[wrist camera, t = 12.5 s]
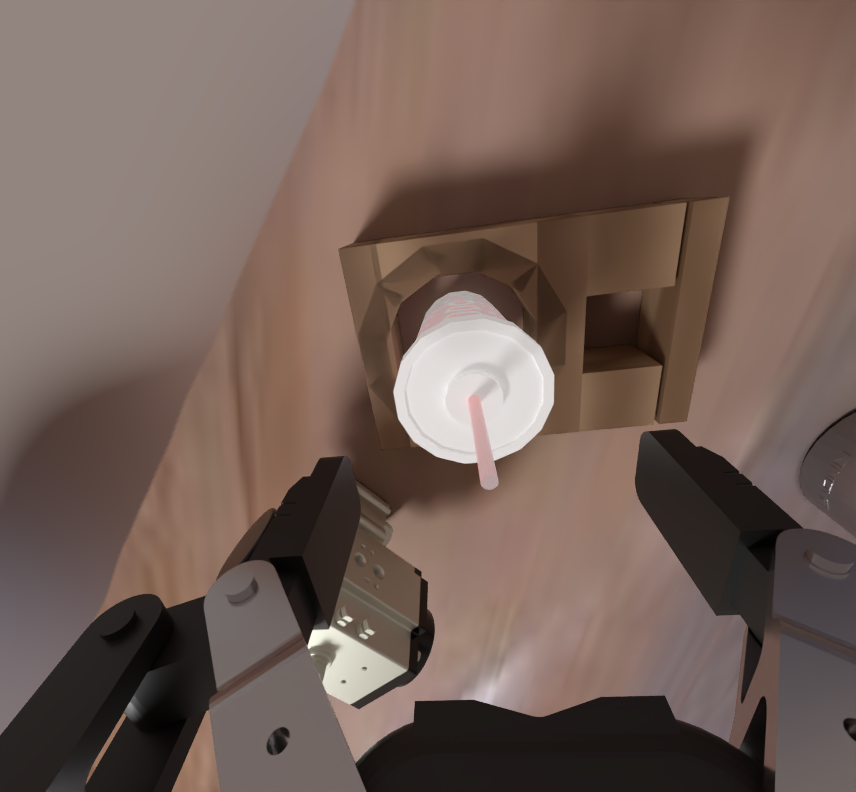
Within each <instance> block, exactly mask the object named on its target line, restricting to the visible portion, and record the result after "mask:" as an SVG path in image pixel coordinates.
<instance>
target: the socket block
mask: <svg viewBox="0 0 856 792" xmlns="http://www.w3.org/2000/svg"><path fill="white" fill-rule="evenodd" d="M729 198H730V197H710V198H684V199H676V200H668V201H661V202H653V203H646V204H639V205H631V206H624V207H616V208H609V209H601V210H594V211H587V212H579V213H572V214H564V215H557V216H550V217H542V218H535V219H527V220H520V221H512V222H505V223H498V224H490V225H483V226H475V227H468V228H461V229H453V230H446V231H438V232H431V233H423V234H416V235H409V236H401V237H394V238H386V239H379V240H372V241H364V242H357V243H352V244H350V245H347V246H345V247H342V248H340V249H338V250H339V255H340V260H341V264H342V269H343V274H344V278H345V283H346V288H347V293H348V297H349V302H350V307H351V311H352V316H353V321H354V325H355V330H356V335H357V340H358V344H359V349H360V354H361V358H362V363H363V368H364V372H365V377H366V382H367V387H368V391H369V396H370V401H371V405H372V410H373V415H374V419H375V424H376V429H377V434H378V438H379V443H380V448H381V450H388V449H399V448H409V447H420V446H419V445H418V444H416V443H415V442H414V441H413V440H412V438H411V437H410V436H409V434H408V433H407V431H406V430H405V428H404V427H403V425H402V424H401V422H400V421H399V419H398V415H397V410H396V404H395V399H394V393H393V391H394V387H395V383H396V379H397V375H398V371H399V368H400V364H401V360H402V359H403V356H404V352H403V345H402V339H401V333H400V327H399V321H398V314H397V312H398V309H399V306H400V304H401V303H402V302H403V301H404V300H405V299H407V298H408V297H409V296H411V295H412V294H413V293H414V292H416V291H417V290H418V289H420V288H421V287H422V286H423V285H425V284H426V283H427V282H429V281H430V280H431V279H432V278H434V277H439V276H447V275H455V274H463V273H471V272H479V273H481V274H484V275H486V276H488V277H490V278H493V279H495V280H497V281H499V282H501V283H504V284H506V285H508V286H510V287H511V288H512V290H513V292H514V293H515V295H516V296H517V298H518V299H519V301H520V302H521V304H522V305H523V331H524V332H525V333H526V334H527V335H529V336H530V337H531V338H532V339H534V340H535V341H536V343H538V344H539V345H540V346H541V348H542V350H543V352H544V354H545V356H546V358H547V360H548V362H549V365H550V367H551V369H552V371H553V373H554V404H553V406H552V409H551V411H550V413H549V415H548V417H547V419H546V421H545V423H544V425H543V428H542V430H541V431H540V432H539V433H537V434H536V435H535V436H537V435H547V434H558V433H568V432H579V431H590V430H600V429H611V428H621V427H632V426H643V425H653V424H654V419H655V420H656V421H657V422H658V423H659V424H664V423H674V422H685V421H687V417H688V412H689V407H690V401H691V396H692V391H693V386H694V381H695V375H696V370H697V365H698V360H699V355H700V349H701V344H702V339H703V334H704V329H705V323H706V318H707V313H708V308H709V302H710V297H711V292H712V287H713V282H714V276H715V271H716V266H717V261H718V256H719V250H720V245H721V240H722V235H723V230H724V224H725V219H726V214H727V209H728V204H729ZM636 290H643V291H642V300H641V309H640V317H639V326H638V335H637V343H636V347H635V346H634V345H632V344H625V345H616V346H607V347H598V348H588V349H584V335H585V317H586V298H587V296H594V295H602V294H610V293H619V292H627V291H636Z"/></svg>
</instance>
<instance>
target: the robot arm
mask: <svg viewBox="0 0 856 792" xmlns="http://www.w3.org/2000/svg"><path fill="white" fill-rule="evenodd" d="M635 486H636V492H637V495H638V498H639V500H640V502H641V504H642V505H643V507H644V508H645V510H646V511H647V513H648V514H649V516H650V517H651V519H652V520H653V522H654V523H655V525H656V526H657V528H658V529H659V531H660V532H661V534H662V535H663V537H664V538H665V540H666V541H667V543H668V544H669V546H670V547H671V549H672V550H673V552H674V553H675V555H676V556H677V558H678V559H679V561H680V562H681V564H682V565H683V567H684V568H685V570H686V571H687V573H688V574H689V576H690V577H691V578H692V580H693V581H694V583H695V584H696V586H697V587H698V589H699V590H700V592H701V593H702V595H703V596H704V598H705V599H706V601H707V602H708V604H709V605H710V607H711V608H712V610H713V611H714V613H715V614H716V616H718V615H741V617H742V618H743V620H744V621H745V622H746V624H747V626H746V629H745V632H744V636H743V645H742V654H741V663H740V672H739V680H738V689H737V698H736V707H735V715H734V721H733V726H732V730H731V734H730V738H729V742H726V741H725V740H723V739H721V738H719V737H717V736H715V735H713V734H711V733H709V732H707V731H705V730H703V729H701V728H699V727H696V726H694V725H691V724H689V723H686V722H683V721H680V720H676V719H675V717H674V715H673V713H672V711H671V708H670V706H669V704H668V702H667V699H666V697H665V696H628V697H600V698H597V699H594V700H591V701H588V702H585V703H582V704H580V705H577V706H574V707H571V708H568V709H565V710H562V711H559V712H557V713H554V714H551V715H548V716H545V717H534V716H530V715H526V714H522V713H519V712H515V711H512V710H508V709H505V708H501V707H497V706H494V705H490V704H487V703H483V702H479V701H476V700H447V701H415V709H414V722H413V723H410V724H407V725H405V726H403V727H401V728H399V729H397V730H395V731H393V732H391V733H390V734H388V735H387V736H385V737H384V738H382V739H381V740H380V741H378V742H377V743H376V744H375V745H373V746H372V747H371V748H370V749H369V750H368V751H367V752H366V753H364V755H363V756H362V757H361V758H360V759H359V760H358V761H357V762H356V763H355V761H354V758H353V756H352V754H351V751H350V749H349V746H348V744H347V741H346V739H345V737H344V734H343V732H342V729H341V727H340V724H339V722H338V720H337V717H336V715H335V712H334V710H333V707H332V705H331V702H330V700H329V698H328V695H327V693H326V690H325V688H324V685H323V683H322V681H321V678H320V676H319V673H318V671H317V668H316V666H315V663H314V661H313V659H312V656H311V654H310V651H309V649H308V643H309V640H310V637H311V633H312V630H327V629H329V628H330V625H331V621H332V618H333V614H334V611H335V607H336V603H337V600H338V596H339V593H340V589H341V586H342V582H343V578H344V575H345V571H346V568H347V564H348V561H349V557H350V554H351V550H352V546H353V543H354V539H355V536H356V532H357V529H358V525H359V521H360V516H361V503H360V497H359V493H358V489H357V485H356V481H355V477H354V474H353V470H352V466H351V462H350V459H349V458H348V456H337V457H325V458H320V459H319V461H318V462H317V464H316V466H315V468H314V470H313V472H312V474H311V476H308V477H302V478H301V479H300V480H299V481H298V482H297V483H296V484H295V485H293V486H292V487H291V488H290V489H289V490H288V492H287V494H286V496H285V497H284V499H283V501H282V503H281V506H279V508H278V510H277V512H276V513H275V518H273V519H272V520H271V522H270V524H269V526H268V527H267V529H266V531H265V533H264V535H263V536H262V538H261V540H260V542H259V543H258V545H257V547H256V549H255V550H254V552H253V554H252V556H251V557H250V559H249V561H248V562H245V563H242V564H240V565H238V566H235V567H234V568H232V569H230V570H229V571H227V572H226V573H224V574H223V575H222V576H221V577H220V578H218V579H217V581H216V582H215V583H214V584H213V585H212V586H211V588H210V589H209V591H208V593H207V595H206V596H203V597H200V598H197V599H194V600H191V601H188V602H185V603H182V604H179V605H176V606H173V607H170V608H167V609H166V608H165V606H164V604H163V603H162V601H161V600H160V598H159V597H158V596H156V595H153V594H142V595H137V596H134V597H131V598H128V599H126V600H124V601H122V602H120V603H118V604H116V605H114V606H113V607H111V608H110V609H108V610H107V611H105V612H104V613H103V614H101V615H100V616H99V617H98V618H97V619H96V620H95V621H94V622H92V623H91V624H90V626H89V627H88V628H87V629H86V630H85V631H84V633H83V634H82V635H81V636H80V638H79V639H78V640H77V641H76V643H75V644H74V645H73V646H72V647H71V649H70V650H69V651H68V652H67V654H66V655H65V656H64V657H63V659H62V660H61V661H60V662H59V664H58V665H57V666H56V667H55V668H54V670H53V671H52V672H51V673H50V675H49V676H48V677H47V678H46V680H45V681H44V682H43V683H42V685H41V686H40V687H39V688H38V690H37V691H36V692H35V693H34V695H33V696H32V697H31V698H30V699H29V701H28V702H27V703H26V704H25V706H24V707H23V708H22V709H21V711H20V712H19V713H18V714H17V715H16V717H15V718H14V719H13V721H12V722H11V723H10V724H9V725H8V727H7V728H6V729H5V730H4V732H3V733H2V734H1V735H0V792H171V791H172V789H173V786H174V784H175V782H176V780H177V777H178V775H179V773H180V770H181V768H182V766H183V763H184V761H185V759H186V756H187V754H188V752H189V749H190V747H191V745H192V743H193V740H194V738H195V736H196V733H197V731H198V729H199V726H200V724H201V722H202V719H203V717H204V715H205V713H206V711H207V710H209V712H210V720H211V727H212V734H213V742H214V749H215V756H216V763H217V771H218V778H219V785H220V792H856V545H855V544H853V543H851V542H849V541H847V540H845V539H843V538H840V537H838V536H835V535H832V534H829V533H826V532H822V531H818V530H812V529H804V528H802V527H801V526H800V525H799V524H798V523H797V522H796V521H795V520H793V519H792V518H791V517H790V516H789V515H788V514H787V513H786V512H784V511H783V510H782V509H781V508H780V507H779V506H778V505H776V504H775V503H774V502H773V501H772V500H771V499H770V498H769V497H767V496H766V495H765V494H764V493H763V492H762V491H761V490H760V489H758V488H757V487H756V486H753V485H752V482H751V481H749V480H748V479H747V478H746V477H745V476H744V475H743V474H739V471H738V470H737V469H736V468H735V467H734V466H732V465H731V464H730V463H729V462H728V461H727V460H726V459H725V458H723V457H722V456H720V455H718V454H716V453H714V452H712V451H710V450H708V449H706V448H704V447H702V446H700V447H696V446H695V445H694V444H692V443H691V442H690V441H689V440H688V439H687V438H686V437H685V436H684V435H683V434H682V433H681V432H680V431H678V430H676V429H671V430H659V431H647V432H644V433H643V434H642V435H641V438H640V444H639V452H638V460H637V468H636V476H635ZM800 487H801V489H802V492H803V494H804V496H805V497H806V498H807V499H808V500H809V501H810V502H811V503H812V504H814V505H815V506H816V507H817V508H819V509H820V510H821V511H822V512H824V513H825V514H826V515H828V516H829V517H830V518H831V519H833V520H834V521H835V522H836V523H838V524H839V525H840V526H842V527H843V528H844V529H845V530H847V531H848V532H849V533H850V534H852V535H853V536H854V537H856V412H855V413H853V414H852V415H850V416H848V417H846V418H844V419H843V420H841V421H840V422H839V423H837V424H836V425H835V426H833V427H832V428H830V429H829V430H828V431H827V432H826V433H825V434H824V435H823V436H822V437H821V438H820V439H819V440H818V441H817V442H816V443H815V445H814V446H813V447H812V448H811V450H810V451H809V452H808V454H807V456H806V458H805V460H804V462H803V464H802V468H801V472H800ZM123 713H125V714H126V718H125V720H124V721H123V723H122V725H121V726H120V728H119V730H118V732H117V733H116V735H115V737H114V738H113V740H112V742H111V743H110V745H109V747H108V749H107V750H106V752H105V754H104V755H103V757H102V759H101V761H100V762H99V764H98V766H97V767H96V769H95V771H94V772H93V774H92V776H91V778H90V779H89V781H88V783H87V784H86V781H87V777H88V774H89V772H90V769H91V767H92V765H93V763H94V761H95V759H96V758H97V756H98V754H99V753H100V751H101V749H102V748H103V746H104V744H105V743H106V741H107V739H108V738H109V736H110V734H111V733H112V731H113V729H114V728H115V726H116V724H117V723H118V721H119V719H120V718H121V716H122V714H123Z"/></svg>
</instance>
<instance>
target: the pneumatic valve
mask: <svg viewBox="0 0 856 792" xmlns="http://www.w3.org/2000/svg"><path fill="white" fill-rule="evenodd" d="M356 485H357V489H358V493H359V497H360V503H361V516H360V521H359V525H358V529H357V532H356V536H355V539H354V543H353V546H352V550H351V554H350V557H349V561H348V564H347V568H346V571H345V575H344V578H343V582H342V586H341V589H340V593H339V596H338V600H337V603H336V607H335V611H334V614H333V618H332V621H331V625H330V628H329V629H327V630H312V633H311V637H310V640H309V643H308V649H309V651H310V654H311V656H312V659H313V661H314V663H315V666H316V668H317V671H318V673H319V676H320V678H321V681H322V683H323V685H324V688H325V690H326V693H328V694H330V695H332V696H334V697H336V698H338V699H340V700H342V701H344V702H346V703H348V704H350V705H352V706H354V707H356V708H357V709H360V708H362V707H363V706H365V705H367V704H368V703H370V702H372V701H374V700H375V699H377V698H379V697H380V696H382V695H384V694H386V693H387V692H389V691H391V690H392V689H394V688H396V687H402V686H405V685H407V684H408V683H410V682H411V681H412V680H413V679H414V678H415V677H416V676H417V675H418V674H419V673H420V671H421V670H422V668H423V667H424V665H425V663H426V661H427V659H428V657H429V654H430V652H431V649H432V645H433V641H434V634H435V625H434V619H433V616H432V614H431V612H430V611H429V610H428V609H427V593H428V582H427V581H426V580H424V579H423V578H421V571H419V570H418V569H417V568H415V567H414V566H412V565H411V564H409V563H408V562H407V561H405V560H404V559H402V558H401V557H399V556H398V555H396V554H395V553H394V552H392V551H391V550H389V549H388V548H386V546H387V544H388V543H389V541H390V539H391V536H392V532H393V529H392V527H391V526H390V525H389V523H387V522H386V517H387V516H388V515H389V514H390V512H391V510H390V509H389V507H390V505H389V504H387V503H386V502H385V501H383V500H382V499H381V498H379V497H378V496H377V495H375V494H374V493H373V492H371V491H370V490H368V489H367V488H366V487H364V486H363V485H362V484H360V483H359V482H358V481H356ZM276 512H277V510H276V509H274V508H271V509H269V510H267V511H266V512H265V513H264V514H263V515H262V516H261V517H260V518H259V519H258V520H257V521H256V522H255V523H254V524H253V525H252V526H251V528H250V529H249V530H248V531H247V532H246V534H245V535H244V536H243V537H242V539H241V540H240V541H239V543H238V544H237V546H236V547H235V548H234V550H233V551H232V553H231V554H230V556H229V557H228V559H227V560H226V562H225V564H224V565H223V567H222V569H221V570H220V572H219V574H218V577H217V579H218V578H220V577H221V576H222V575H223V574H224V573H226V572H227V571H229V570H230V569H232V568H234V567H235V566H238V565H240V564H242V563H245V562H248V561H249V559H250V557H251V556H252V554H253V552H254V550H255V549H256V547H257V545H258V543H259V542H260V540H261V538H262V536H263V535H264V533H265V531H266V529H267V527H268V526H269V524H270V522H271V520H272V519H273V518H275V513H276ZM217 579H216V581H217Z"/></svg>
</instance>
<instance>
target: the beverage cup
mask: <svg viewBox="0 0 856 792" xmlns="http://www.w3.org/2000/svg"><path fill="white" fill-rule="evenodd" d="M393 393H394V399H395V404H396V410H397V415H398V419H399V421H400V422H401V424H402V425H403V427H404V428H405V430H406V431H407V433H408V434H409V436H410V437H411V438H412V440H413V441H414V442H415V443H416V444H418V445H419V446H421V447H422V448H424V449H425V450H427V451H429V452H430V453H432V454H433V455H435V456H436V457H439V458H443V459H447V460H451V461H455V462H459V463H464V464H467V463H478V470H479V476H480V482H481V486H482V487H483V488H484V489H487V490H491V489H494V488H496V487H497V486H498V477H497V472H496V467H495V463H494V461H495V460H497V459H500V458H502V457H504V456H507V455H509V454H511V453H513V452H516V451H518V450H520V449H521V448H522V447H524V446H525V445H526V444H527V443H528V442H529V441H530V440H531V439H532V438H533V437H534V436H535V435H536V434H537V433H539V432H540V431H541V430H542V428H543V425H544V423H545V421H546V419H547V417H548V415H549V413H550V411H551V409H552V406H553V404H554V373H553V371H552V369H551V367H550V365H549V362H548V360H547V358H546V356H545V354H544V352H543V350H542V348H541V346H540V345H539V344H538V343H536V341H535V340H534V339H532V338H531V337H530V336H529V335H527V334H526V333H525V332H524V331H523V330H521V329H520V328H519V327H518V326H517V325H515V324H514V323H513V322H510V321H507V320H506V319H505V318H504V317H503V316H502V315H501V313H500V312H499V311H498V310H497V309H496V308H495V307H494V306H493V305H492V304H491V303H490V302H488V301H487V300H486V299H485V298H483V297H482V296H481V295H478V294H475V293H471V292H468V291H460V292H452V293H448V294H447V295H445V296H443V297H441V298H439V299H438V300H436V301H435V302H434V303H433V305H432V306H431V307H430V309H429V310H428V311H427V312H426V315H425V317H424V320H423V323H422V325H421V328H420V331H419V333H418V336H417V339H416V341H415V342H414V343H413V345H412V346H411V347H410V348H409V350H408V351H407V352H406V353H405V355H404V356H403V359H402V360H401V364H400V368H399V371H398V375H397V379H396V383H395V387H394V391H393Z"/></svg>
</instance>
